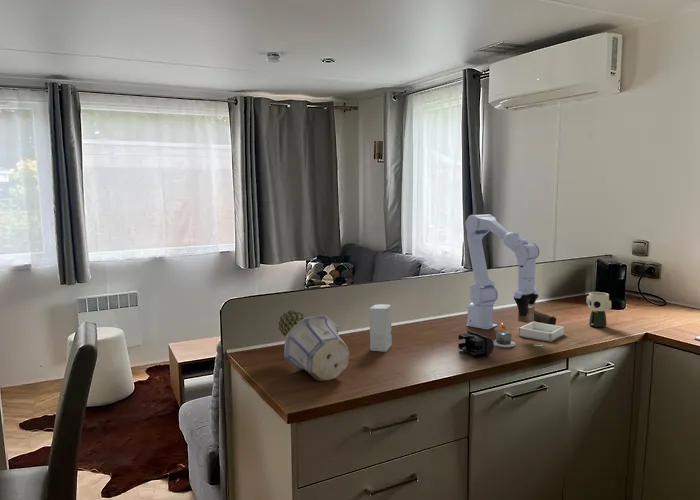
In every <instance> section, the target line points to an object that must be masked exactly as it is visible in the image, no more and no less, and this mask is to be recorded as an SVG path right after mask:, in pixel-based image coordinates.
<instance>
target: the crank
mask: <svg viewBox="0 0 700 500" xmlns="http://www.w3.org/2000/svg"><path fill="white" fill-rule="evenodd" d="M506 330H507V327H506V325H504V322H503V321H502V322H500V325H498V331H497V332H496V335H495V336H496V337H495V338H496V339H495V340H496V342H497V343H500V344H510V343H511V341H512V333H511V332H509V331H506Z"/></svg>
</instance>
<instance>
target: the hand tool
mask: <svg viewBox="0 0 700 500" xmlns="http://www.w3.org/2000/svg"><path fill="white" fill-rule="evenodd" d="M534 321H538V322H539V323H544V324H550V325H556V324H557V318H556V317H555V316H550V315H549V314H546V313H545V314H544V313H542V312H539V311H536V310H534Z"/></svg>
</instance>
